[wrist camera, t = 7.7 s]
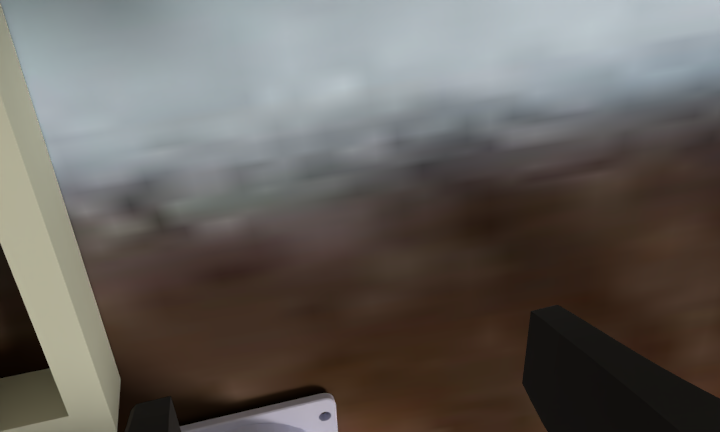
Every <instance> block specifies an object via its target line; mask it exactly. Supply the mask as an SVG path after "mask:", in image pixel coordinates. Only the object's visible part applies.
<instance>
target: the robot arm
mask: <svg viewBox="0 0 720 432" xmlns="http://www.w3.org/2000/svg"><path fill="white" fill-rule="evenodd" d="M522 383H523V385H524V387H525V390H526V392H527V394H528V396H529V398H530V400H531V402H532V404H533V406H534V408H535V409H536V411H537V413H538V415H539V417H540V419H541V421H542V423H543V424H544V426H545V428H546V430H547V431H548V432H720V399H719V398H718V397H716V396H714V395H712V394H710V393H708V392H706V391H704V390H702V389H700V388H698V387H697V386H695V385H693V384H691V383H689V382H687V381H685V380H683V379H681V378H680V377H678V376H676V375H674V374H672V373H671V372H669V371H667V370H665V369H664V368H662V367H660V366H658V365H657V364H655V363H653V362H651V361H650V360H648V359H646V358H645V357H643V356H641V355H640V354H638V353H636V352H635V351H633V350H631V349H630V348H628V347H626V346H625V345H623V344H621V343H620V342H618V341H616V340H615V339H613V338H612V337H610V336H608V335H607V334H605V333H603V332H602V331H600V330H599V329H597V328H595V327H594V326H592V325H590V324H589V323H587V322H586V321H584V320H582V319H581V318H579V317H577V316H576V315H574V314H572V313H571V312H569V311H567V310H566V309H564V308H562V307H560V306H559V305H555V306H551V307H547V308H543V309H538V310H534V311H531V315H530V323H529V332H528V340H527V348H526V357H525V365H524V373H523V382H522ZM323 412H326V413H324V414H321V413H323ZM125 432H338V427H337V414H336V404H335V400H334V398H333V396H332V395H331V394H329V393H320V394H316V395H312V396H307V397H303V398H299V399H295V400H290V401H286V402H282V403H278V404H273V405H269V406H265V407H260V408H256V409H252V410H248V411H243V412H239V413H235V414H231V415H226V416H222V417H218V418H214V419H209V420H205V421H201V422H196V423H192V424H188V425H184V426H179V423H178V419H177V416H176V412H175V409H174V406H173V402H172V399H171V396H169V397H165V398H161V399H156V400H152V401H148V402H144V403H140V404H136V405H135V406H134V407H133V409H132V410H131V412H130V415H129V419H128V422H127V426H126V429H125Z"/></svg>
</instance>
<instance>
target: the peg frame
mask: <svg viewBox="0 0 720 432" xmlns="http://www.w3.org/2000/svg"><path fill="white" fill-rule="evenodd" d="M0 244H1V246H2V249H3V251H4V254H5V256H6V259H7V261H8V264H9V266H10V269H11V271H12V274H13V276H14V279H15V281H16V284H17V286H18V289H19V292H20V294H21V297H22V299H23V302H24V304H25V307H26V309H27V312H28V314H29V317H30V319H31V322H32V324H33V327H34V329H35V332H36V334H37V337H38V339H39V342H40V345H41V347H42V350H43V352H44V355H45V357H46V360H47V362H48V365H49V367H50V368H48V369H43V370H39V371H34V372H29V373H24V374H19V375H14V376H9V377H4V378H0V432H117V426H118V412H119V398H120V383H121V379H120V376H119V372H118V369H117V366H116V363H115V360H114V357H113V354H112V351H111V347H110V344H109V341H108V338H107V335H106V332H105V329H104V326H103V322H102V319H101V316H100V313H99V310H98V307H97V304H96V301H95V297H94V294H93V291H92V288H91V285H90V282H89V279H88V276H87V272H86V269H85V266H84V263H83V260H82V257H81V254H80V251H79V247H78V244H77V241H76V238H75V235H74V232H73V229H72V226H71V222H70V219H69V216H68V213H67V210H66V207H65V204H64V201H63V198H62V194H61V191H60V188H59V185H58V182H57V179H56V176H55V173H54V169H53V166H52V163H51V160H50V157H49V154H48V151H47V148H46V144H45V141H44V138H43V135H42V132H41V129H40V126H39V123H38V119H37V116H36V113H35V110H34V107H33V104H32V101H31V98H30V94H29V91H28V88H27V85H26V82H25V79H24V76H23V73H22V69H21V66H20V63H19V60H18V57H17V54H16V51H15V48H14V44H13V41H12V38H11V35H10V32H9V29H8V26H7V23H6V19H5V16H4V13H3V10H2V7H1V4H0Z"/></svg>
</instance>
